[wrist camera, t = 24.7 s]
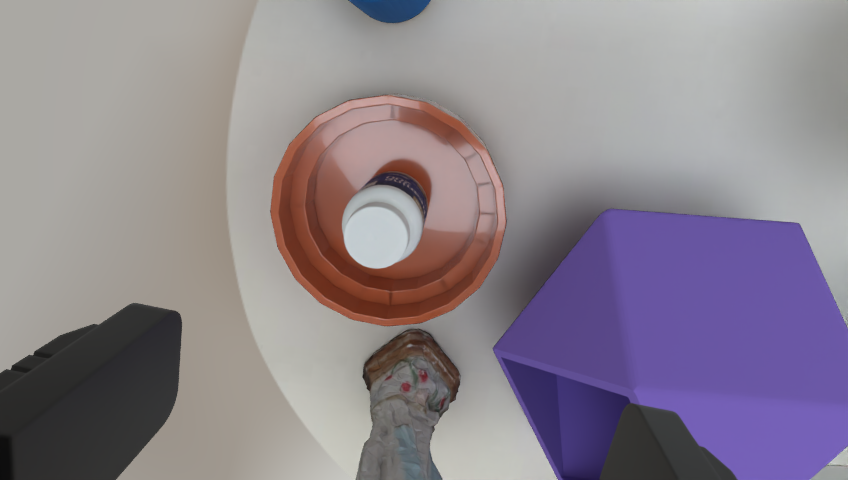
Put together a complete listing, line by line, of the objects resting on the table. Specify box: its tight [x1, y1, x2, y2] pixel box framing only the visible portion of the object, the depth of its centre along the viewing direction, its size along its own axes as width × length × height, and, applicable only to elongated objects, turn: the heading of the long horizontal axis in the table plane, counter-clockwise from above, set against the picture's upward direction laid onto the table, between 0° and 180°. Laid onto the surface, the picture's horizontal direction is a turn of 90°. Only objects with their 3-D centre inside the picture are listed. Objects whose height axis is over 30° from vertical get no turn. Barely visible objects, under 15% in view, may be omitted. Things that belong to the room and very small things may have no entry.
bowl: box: [270, 94, 507, 326], centre depth 40 cm, size 16×16×6 cm
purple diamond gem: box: [493, 209, 848, 480], centre depth 35 cm, size 22×20×20 cm
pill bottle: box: [342, 171, 428, 269], centre depth 37 cm, size 5×5×10 cm
